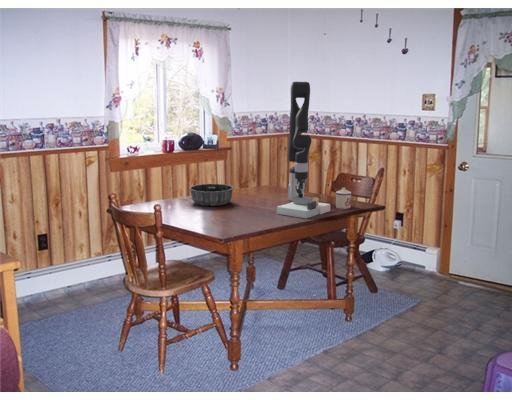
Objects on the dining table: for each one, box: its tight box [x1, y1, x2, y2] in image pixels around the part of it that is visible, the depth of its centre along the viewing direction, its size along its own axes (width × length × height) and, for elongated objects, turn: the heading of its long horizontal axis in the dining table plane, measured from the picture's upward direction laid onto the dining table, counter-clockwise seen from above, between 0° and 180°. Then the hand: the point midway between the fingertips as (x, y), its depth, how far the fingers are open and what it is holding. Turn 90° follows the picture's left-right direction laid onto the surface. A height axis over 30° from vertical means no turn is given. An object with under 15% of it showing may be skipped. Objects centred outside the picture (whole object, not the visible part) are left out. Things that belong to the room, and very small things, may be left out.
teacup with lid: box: [335, 187, 352, 210], centre depth 364 cm, size 12×9×12 cm
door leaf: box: [276, 202, 319, 219], centre depth 344 cm, size 19×13×4 cm
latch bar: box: [292, 196, 320, 205], centre depth 350 cm, size 14×4×4 cm, turn 65°
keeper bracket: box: [307, 201, 316, 210], centre depth 339 cm, size 2×6×4 cm, turn 144°
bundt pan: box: [189, 183, 235, 207], centre depth 371 cm, size 26×26×10 cm
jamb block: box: [291, 201, 331, 215], centre depth 354 cm, size 20×11×4 cm, turn 54°
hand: (300, 200), depth 355 cm, fingers closed
